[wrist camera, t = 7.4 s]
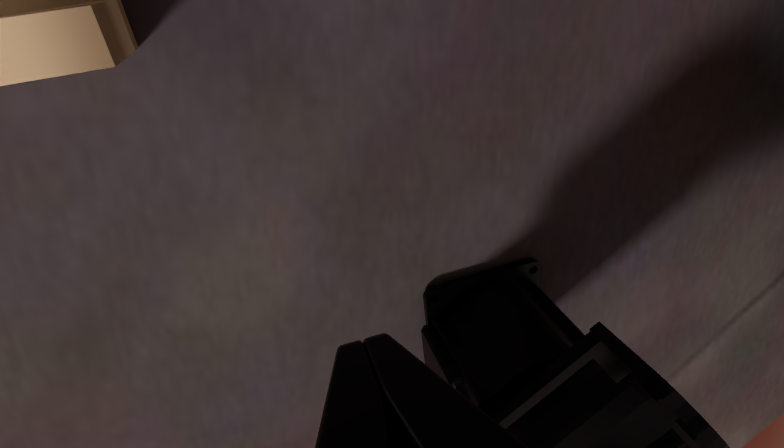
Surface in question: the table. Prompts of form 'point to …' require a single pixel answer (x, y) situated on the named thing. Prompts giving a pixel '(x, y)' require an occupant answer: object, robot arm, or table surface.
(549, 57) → the table surface
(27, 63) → the cradle
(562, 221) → the table surface
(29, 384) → the table surface
